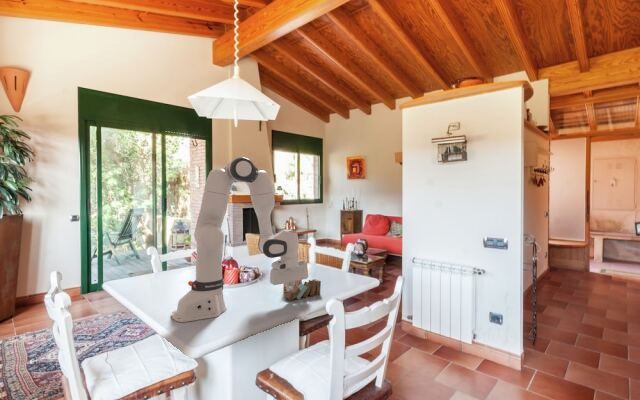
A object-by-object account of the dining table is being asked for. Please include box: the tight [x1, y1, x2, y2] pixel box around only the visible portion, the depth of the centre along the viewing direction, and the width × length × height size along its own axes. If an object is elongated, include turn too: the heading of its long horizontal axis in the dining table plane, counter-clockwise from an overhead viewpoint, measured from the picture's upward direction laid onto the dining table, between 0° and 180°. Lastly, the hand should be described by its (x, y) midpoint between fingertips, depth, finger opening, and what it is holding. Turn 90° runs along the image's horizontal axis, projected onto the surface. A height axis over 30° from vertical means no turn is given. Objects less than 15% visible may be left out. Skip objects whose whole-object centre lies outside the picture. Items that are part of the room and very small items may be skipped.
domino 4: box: [311, 278, 322, 296], centre depth 169 cm, size 2×4×7 cm, turn 37°
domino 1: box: [284, 286, 301, 302], centre depth 160 cm, size 2×4×7 cm
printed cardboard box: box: [282, 280, 302, 294], centre depth 181 cm, size 21×6×12 cm, turn 174°
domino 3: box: [307, 279, 317, 297], centre depth 167 cm, size 2×4×7 cm, turn 38°
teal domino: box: [294, 283, 307, 300], centre depth 163 cm, size 2×4×7 cm
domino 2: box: [301, 281, 313, 299], centre depth 165 cm, size 2×4×7 cm
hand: (289, 290), depth 159 cm, fingers closed
